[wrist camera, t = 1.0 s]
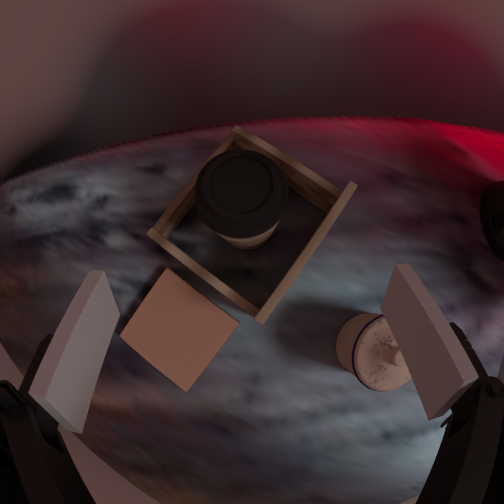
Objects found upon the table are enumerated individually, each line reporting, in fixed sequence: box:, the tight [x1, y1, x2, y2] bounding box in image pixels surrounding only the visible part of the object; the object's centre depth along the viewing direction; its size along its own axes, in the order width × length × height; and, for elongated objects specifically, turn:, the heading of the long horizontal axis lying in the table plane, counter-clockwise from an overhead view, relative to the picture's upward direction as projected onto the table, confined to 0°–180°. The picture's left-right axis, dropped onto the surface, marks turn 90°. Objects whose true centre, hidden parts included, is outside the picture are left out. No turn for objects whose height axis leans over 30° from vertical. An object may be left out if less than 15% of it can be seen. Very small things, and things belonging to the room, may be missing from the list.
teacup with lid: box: [336, 313, 411, 391], centre depth 31 cm, size 12×9×12 cm
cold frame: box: [147, 125, 358, 325], centre depth 35 cm, size 18×18×10 cm
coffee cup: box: [195, 149, 289, 250], centre depth 33 cm, size 9×9×15 cm
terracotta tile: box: [120, 268, 240, 392], centre depth 37 cm, size 12×12×2 cm
